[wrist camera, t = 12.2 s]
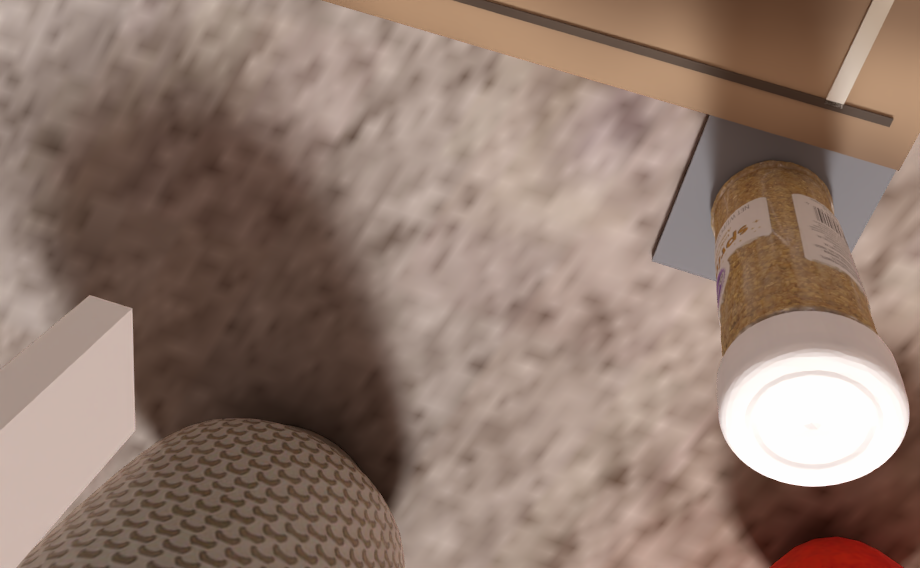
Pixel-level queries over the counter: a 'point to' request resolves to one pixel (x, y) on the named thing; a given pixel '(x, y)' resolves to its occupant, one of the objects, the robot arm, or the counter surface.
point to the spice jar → (798, 335)
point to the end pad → (742, 146)
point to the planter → (230, 506)
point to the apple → (835, 555)
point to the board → (718, 58)
